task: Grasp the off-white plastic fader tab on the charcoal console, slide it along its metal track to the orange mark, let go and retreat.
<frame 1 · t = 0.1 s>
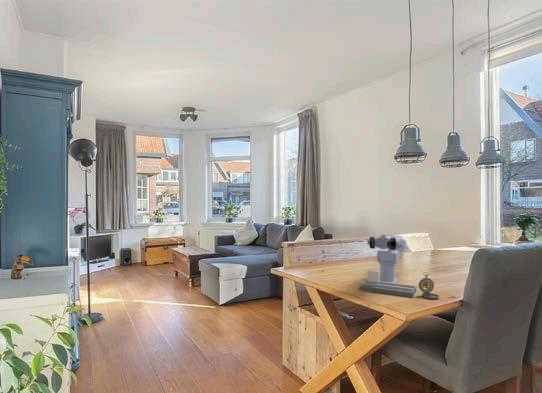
hand: (379, 243, 158), 22 cm above the table, tool horizontal, fingers open, 7 cm apart
pocket watch: (429, 297, 148), on the table
fader console: (388, 290, 158), on the table
fader tab: (373, 277, 161), point 5 cm above the table, slide at 0.0 cm
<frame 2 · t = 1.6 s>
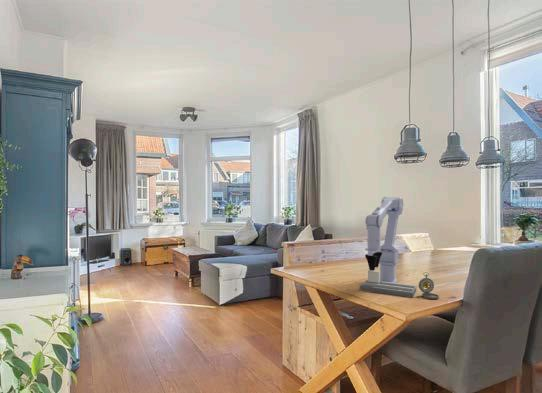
hand: (373, 268, 161), 9 cm above the table, tool pointing down, fingers open, 7 cm apart
nothing on the table moved.
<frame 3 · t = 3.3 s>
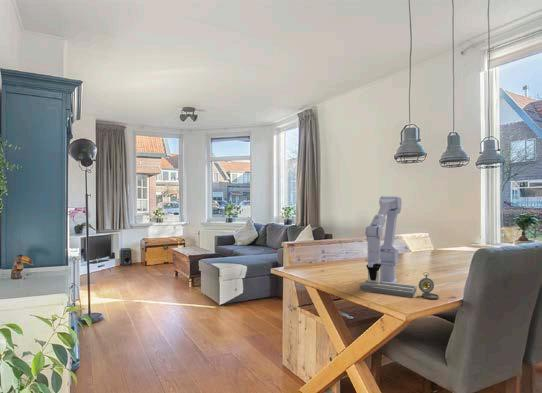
hand: (373, 279, 161), 4 cm above the table, tool pointing down, fingers closed on fader tab, 2 cm apart
fader tab: (373, 277, 161), point 5 cm above the table, slide at 0.0 cm, touching gripper
everything else where it was.
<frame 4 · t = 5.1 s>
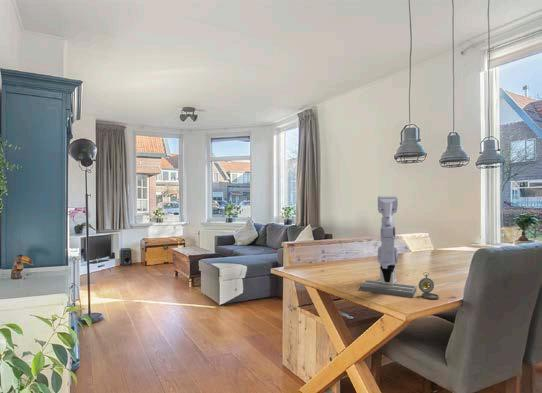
hand: (387, 281, 158), 4 cm above the table, tool pointing down, fingers closed on fader tab, 2 cm apart
fader tab: (387, 279, 158), point 5 cm above the table, slide at 6.3 cm, touching gripper
everything else where it was.
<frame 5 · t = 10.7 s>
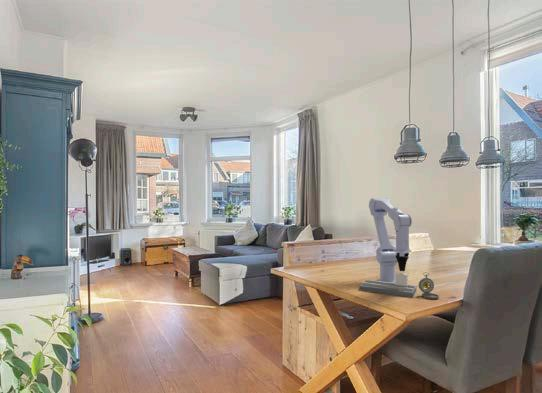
hand: (402, 269, 159), 9 cm above the table, tool pointing down, fingers open, 7 cm apart
fader tab: (401, 280, 155), point 5 cm above the table, slide at 12.4 cm
everything else where it was.
at the end: fader tab slide at 12.4 cm; the gripper is holding nothing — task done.
